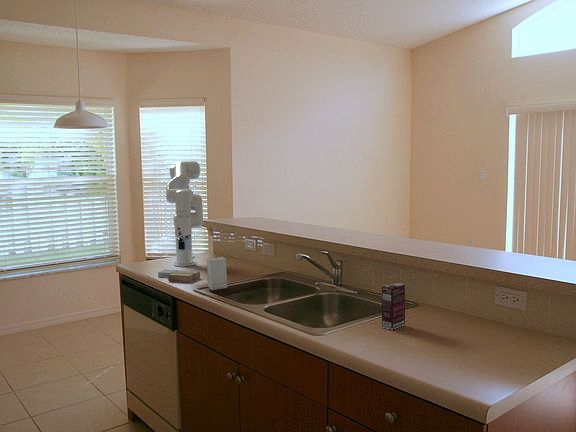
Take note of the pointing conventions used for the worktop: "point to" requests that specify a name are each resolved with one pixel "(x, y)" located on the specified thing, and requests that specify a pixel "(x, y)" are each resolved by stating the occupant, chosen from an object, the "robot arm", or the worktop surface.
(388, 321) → the supplement box
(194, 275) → the walnut slab
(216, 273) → the skincare box
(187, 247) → the blue block
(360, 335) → the worktop surface
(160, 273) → the slate coaster
